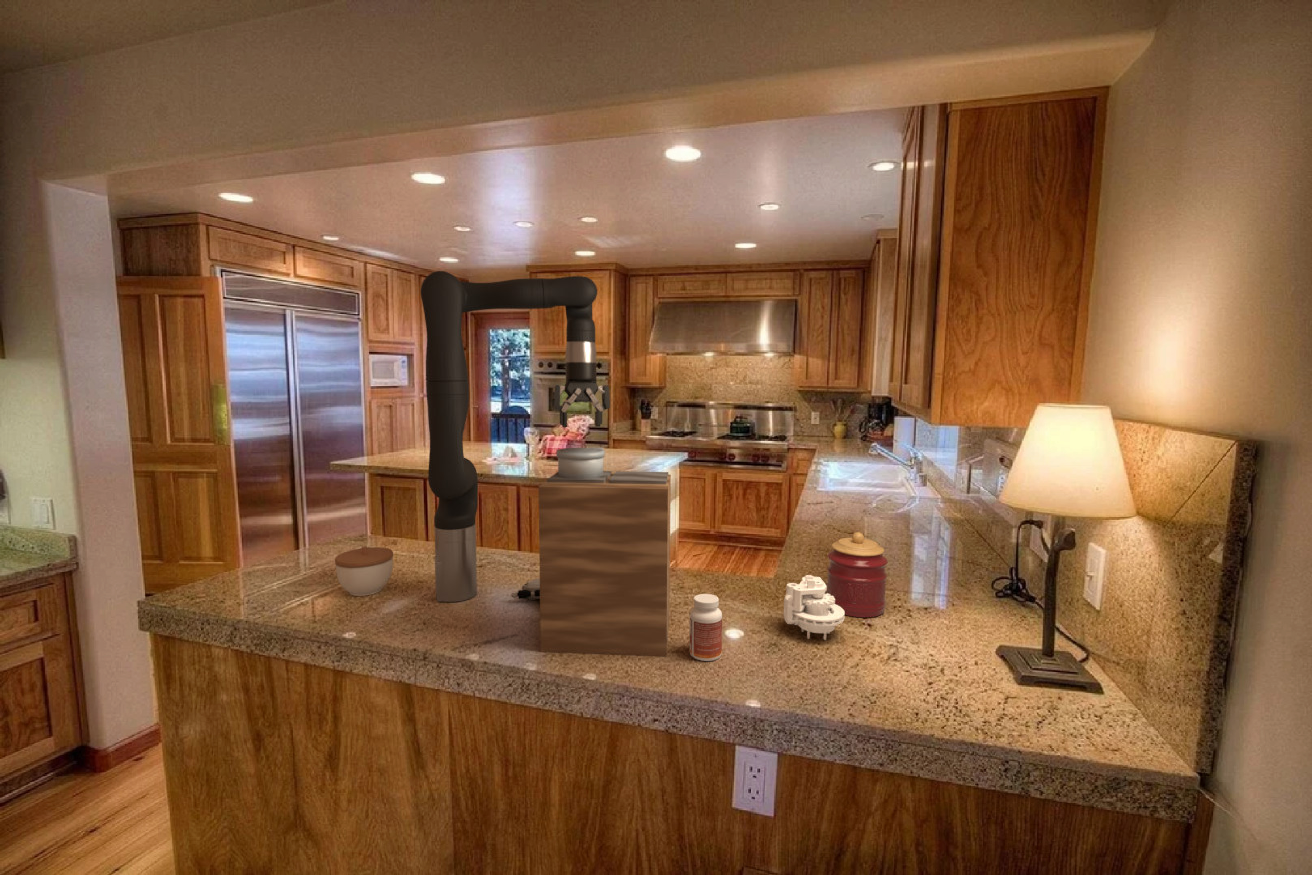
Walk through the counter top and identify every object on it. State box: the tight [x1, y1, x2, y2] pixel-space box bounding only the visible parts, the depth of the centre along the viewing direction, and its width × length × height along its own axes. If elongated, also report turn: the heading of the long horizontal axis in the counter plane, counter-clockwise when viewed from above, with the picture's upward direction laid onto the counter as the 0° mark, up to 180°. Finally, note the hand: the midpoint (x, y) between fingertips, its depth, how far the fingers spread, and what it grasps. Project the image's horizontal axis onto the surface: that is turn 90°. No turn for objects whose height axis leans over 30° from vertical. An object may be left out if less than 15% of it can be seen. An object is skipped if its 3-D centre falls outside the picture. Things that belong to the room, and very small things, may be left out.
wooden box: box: [538, 470, 672, 657], centre depth 115 cm, size 16×24×33 cm, turn 87°
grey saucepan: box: [556, 446, 606, 479], centre depth 122 cm, size 23×10×5 cm, turn 177°
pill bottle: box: [688, 593, 723, 662], centre depth 108 cm, size 6×6×11 cm
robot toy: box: [510, 578, 540, 601], centre depth 135 cm, size 12×4×15 cm
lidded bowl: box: [334, 545, 394, 597], centre depth 139 cm, size 13×13×11 cm
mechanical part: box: [783, 574, 846, 641], centre depth 117 cm, size 11×12×12 cm
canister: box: [825, 531, 889, 618], centre depth 131 cm, size 13×13×18 cm
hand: (581, 426), depth 142 cm, fingers open, 8 cm apart
